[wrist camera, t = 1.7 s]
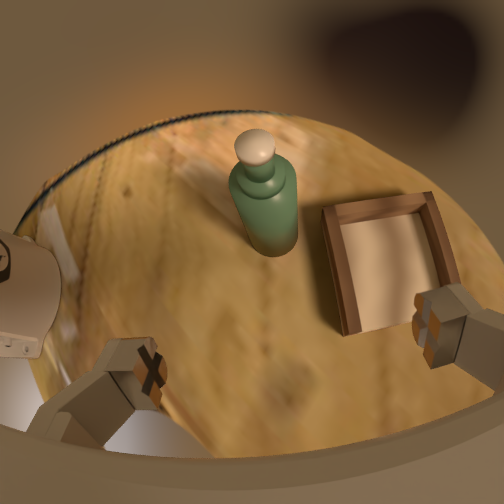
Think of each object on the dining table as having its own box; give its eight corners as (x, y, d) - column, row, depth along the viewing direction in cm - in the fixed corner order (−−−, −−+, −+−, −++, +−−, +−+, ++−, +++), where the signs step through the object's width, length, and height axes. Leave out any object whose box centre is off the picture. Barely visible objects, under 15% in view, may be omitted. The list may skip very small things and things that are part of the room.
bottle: (259, 264, 33) (227, 188, 18) (243, 222, 35) (206, 131, 20) (305, 246, 33) (308, 160, 18) (287, 206, 35) (276, 106, 20)
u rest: (343, 336, 29) (349, 334, 26) (320, 222, 33) (322, 206, 30) (450, 311, 28) (465, 304, 25) (420, 206, 32) (431, 191, 29)
